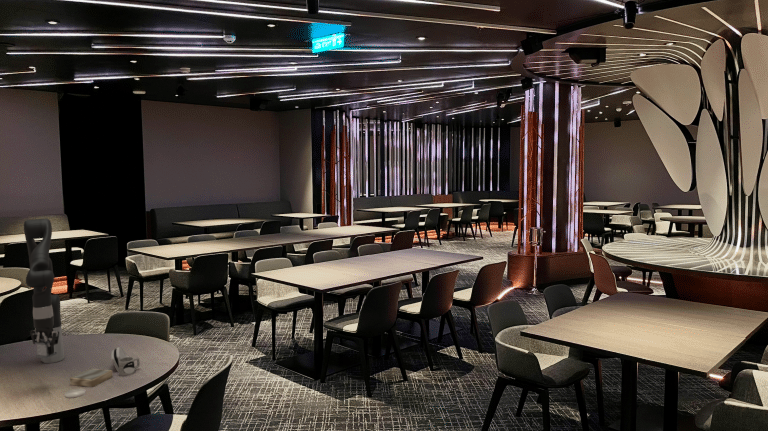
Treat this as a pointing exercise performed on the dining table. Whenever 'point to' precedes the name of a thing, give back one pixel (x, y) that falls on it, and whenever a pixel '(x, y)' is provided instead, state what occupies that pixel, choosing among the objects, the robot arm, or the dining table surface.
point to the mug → (127, 366)
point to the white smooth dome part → (75, 393)
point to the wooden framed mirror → (91, 377)
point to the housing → (43, 349)
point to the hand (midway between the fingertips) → (46, 353)
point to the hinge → (118, 356)
